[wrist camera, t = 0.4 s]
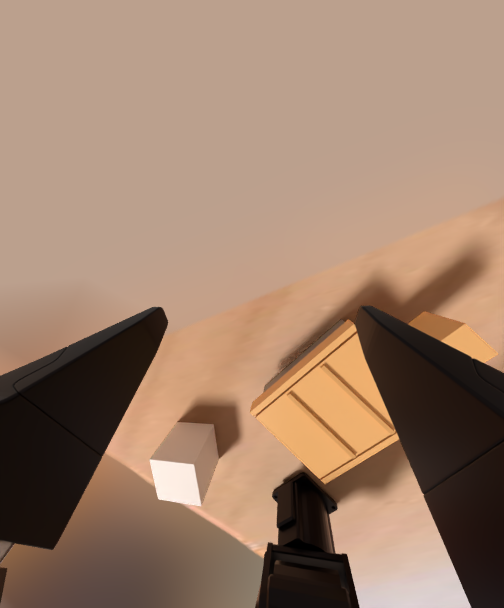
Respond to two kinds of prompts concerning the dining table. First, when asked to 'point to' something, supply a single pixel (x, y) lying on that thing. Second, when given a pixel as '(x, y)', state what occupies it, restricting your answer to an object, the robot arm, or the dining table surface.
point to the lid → (344, 398)
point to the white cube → (185, 463)
